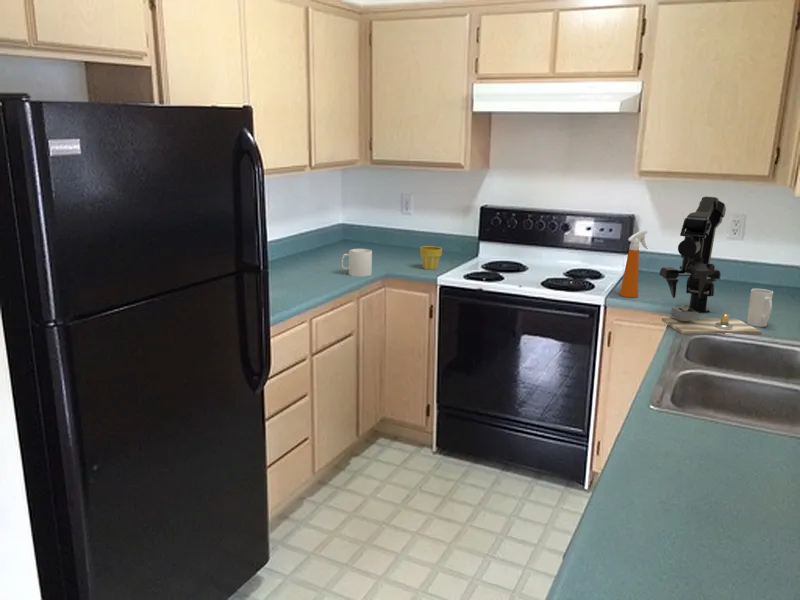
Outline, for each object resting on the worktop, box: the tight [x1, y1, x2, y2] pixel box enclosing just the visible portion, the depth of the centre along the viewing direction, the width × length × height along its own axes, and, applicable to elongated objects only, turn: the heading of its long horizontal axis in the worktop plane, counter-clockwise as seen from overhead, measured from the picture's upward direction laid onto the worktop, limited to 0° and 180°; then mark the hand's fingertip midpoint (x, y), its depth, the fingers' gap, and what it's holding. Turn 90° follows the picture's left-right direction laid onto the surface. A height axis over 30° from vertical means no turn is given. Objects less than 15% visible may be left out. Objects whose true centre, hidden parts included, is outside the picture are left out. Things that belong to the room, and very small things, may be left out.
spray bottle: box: [619, 229, 649, 299], centre depth 263 cm, size 7×11×26 cm, turn 117°
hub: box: [715, 313, 733, 330], centre depth 219 cm, size 5×5×4 cm
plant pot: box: [419, 245, 443, 270], centre depth 308 cm, size 10×10×10 cm
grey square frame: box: [670, 306, 699, 320], centre depth 227 cm, size 6×6×3 cm
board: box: [661, 317, 762, 335], centre depth 223 cm, size 15×27×1 cm, turn 93°
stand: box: [677, 304, 690, 322], centre depth 227 cm, size 4×4×6 cm
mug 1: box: [340, 248, 373, 277], centre depth 292 cm, size 14×10×11 cm
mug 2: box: [746, 288, 774, 328], centre depth 225 cm, size 10×7×12 cm, turn 1°
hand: (686, 297), depth 225 cm, fingers open, 9 cm apart
